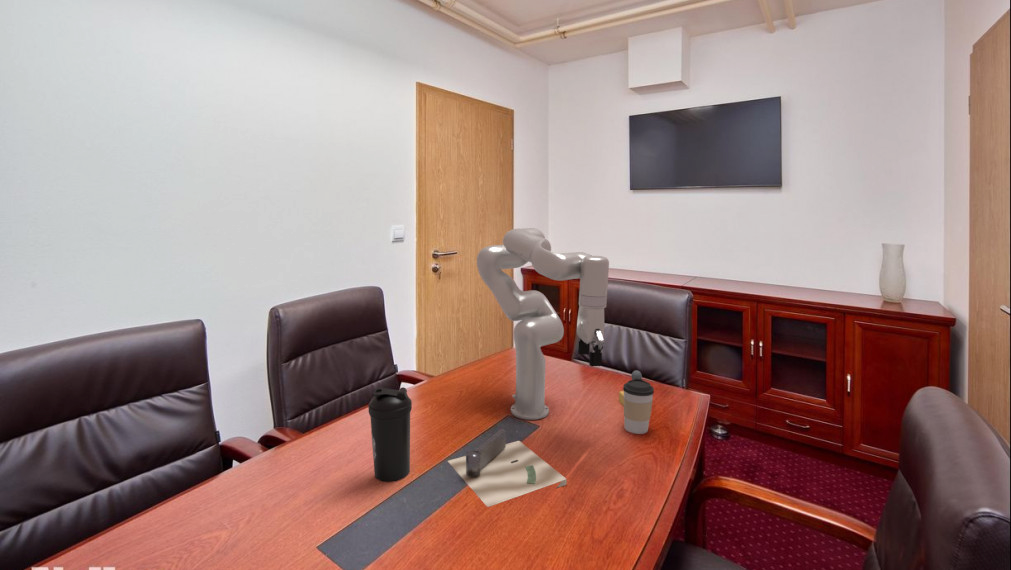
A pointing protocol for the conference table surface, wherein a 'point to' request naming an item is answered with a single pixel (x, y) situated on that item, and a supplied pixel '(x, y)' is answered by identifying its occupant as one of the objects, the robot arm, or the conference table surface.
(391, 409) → the water bottle
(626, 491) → the conference table surface
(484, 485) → the dial plate
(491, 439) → the pointer lever
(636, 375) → the rubber stamp
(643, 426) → the coffee cup
